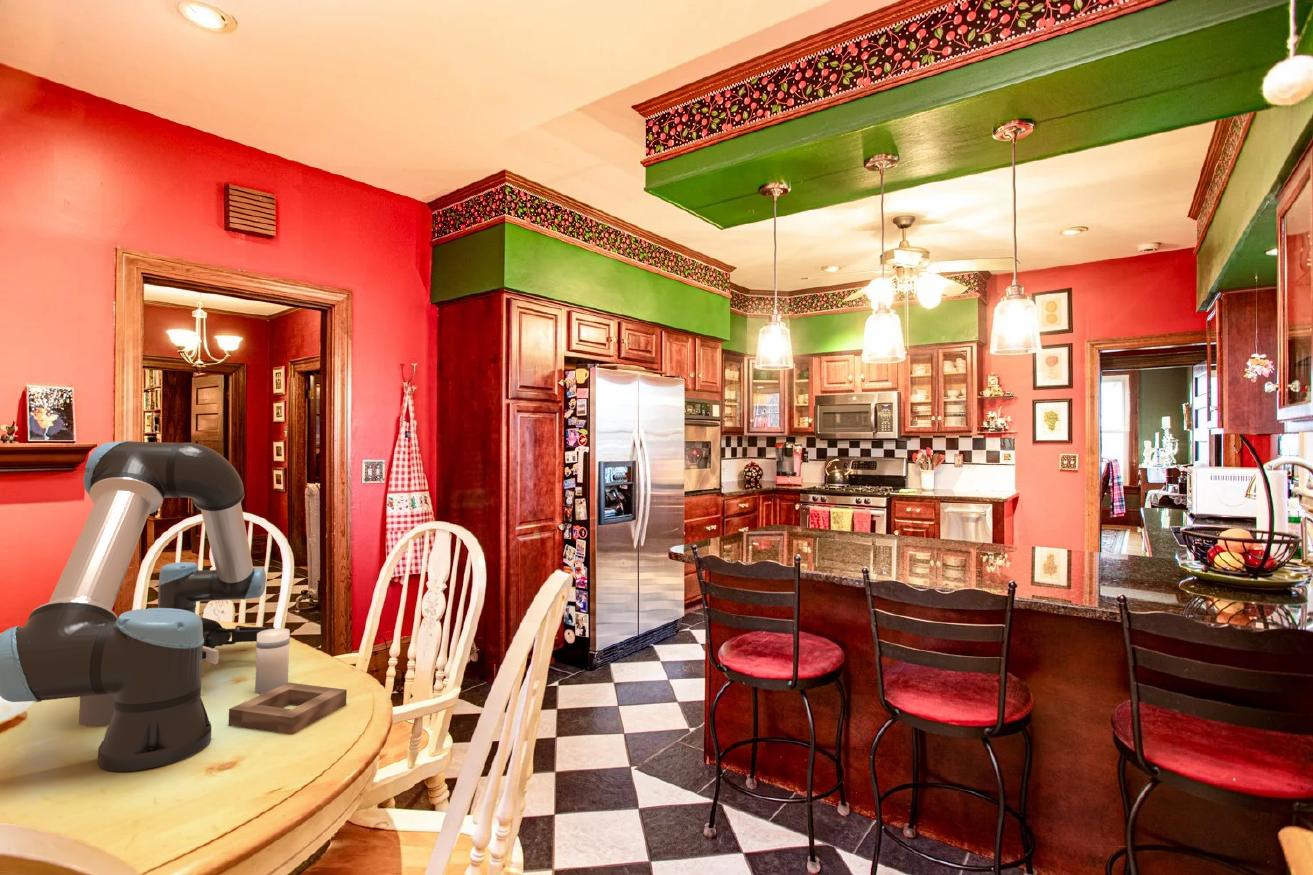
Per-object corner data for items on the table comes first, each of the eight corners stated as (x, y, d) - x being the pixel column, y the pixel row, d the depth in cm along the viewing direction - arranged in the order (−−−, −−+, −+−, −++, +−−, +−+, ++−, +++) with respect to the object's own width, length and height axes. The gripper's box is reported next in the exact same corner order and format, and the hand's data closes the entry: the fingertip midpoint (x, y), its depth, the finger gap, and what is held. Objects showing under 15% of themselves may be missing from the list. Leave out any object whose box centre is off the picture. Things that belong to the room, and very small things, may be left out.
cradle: (291, 734, 114) (292, 717, 114) (228, 725, 118) (229, 708, 118) (346, 704, 128) (346, 689, 128) (288, 696, 131) (288, 682, 131)
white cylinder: (271, 695, 132) (273, 637, 132) (247, 691, 133) (249, 634, 134) (294, 684, 138) (296, 629, 138) (271, 681, 139) (273, 627, 140)
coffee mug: (76, 731, 114) (78, 675, 114) (81, 713, 121) (83, 660, 122) (170, 713, 122) (172, 661, 122) (169, 697, 130) (170, 648, 130)
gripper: (251, 636, 161) (303, 650, 151) (134, 665, 139) (186, 683, 129) (252, 607, 161) (304, 619, 151) (135, 630, 139) (187, 646, 129)
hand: (249, 648), depth 140 cm, fingers open, 13 cm apart
